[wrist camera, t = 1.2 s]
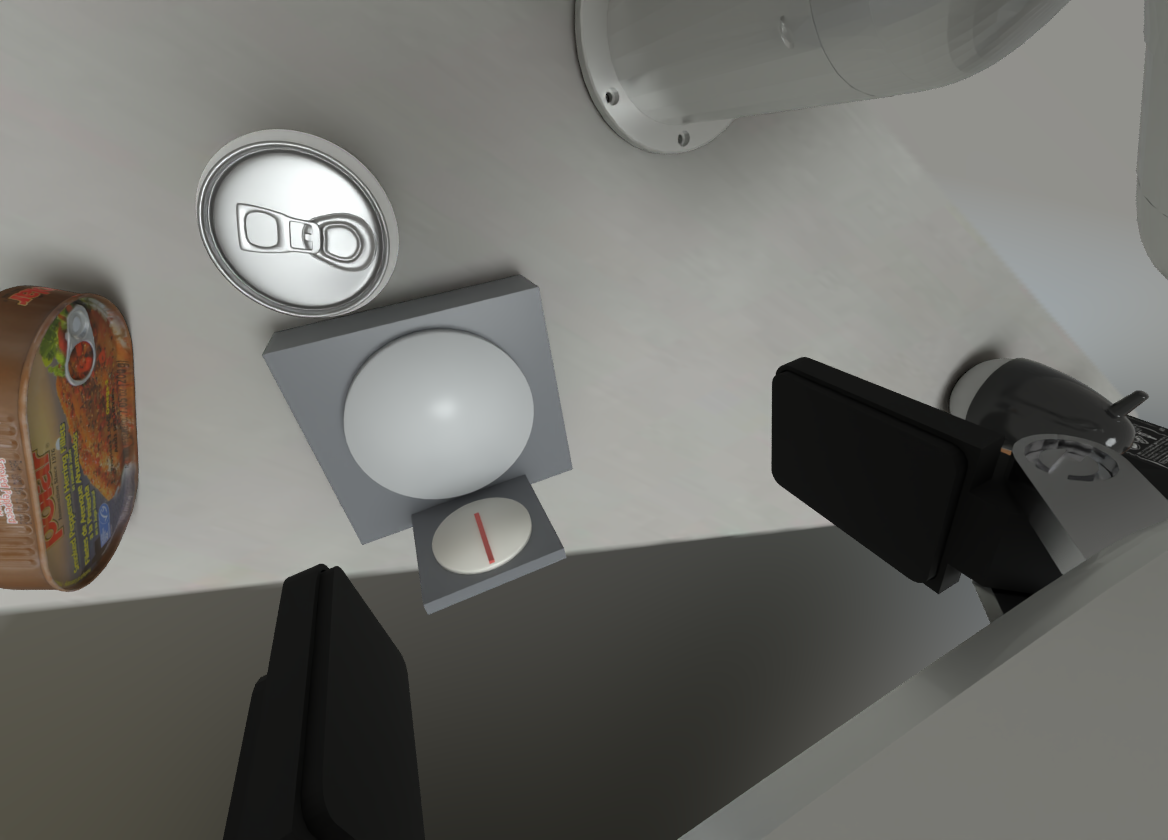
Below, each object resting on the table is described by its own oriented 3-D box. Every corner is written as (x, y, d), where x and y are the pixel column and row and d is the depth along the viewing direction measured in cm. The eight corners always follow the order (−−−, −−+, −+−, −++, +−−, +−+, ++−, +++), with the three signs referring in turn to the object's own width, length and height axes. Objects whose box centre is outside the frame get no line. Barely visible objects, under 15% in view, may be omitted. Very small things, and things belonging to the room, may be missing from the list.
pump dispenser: (1010, 342, 57) (1189, 390, 45) (975, 418, 62) (1128, 481, 50) (956, 350, 54) (1133, 404, 41) (923, 430, 59) (1073, 501, 46)
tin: (141, 522, 29) (72, 631, 22) (70, 522, 28) (-27, 638, 21) (131, 279, 24) (38, 323, 17) (44, 263, 23) (-96, 304, 16)
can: (387, 278, 28) (399, 337, 19) (258, 262, 26) (193, 321, 16) (390, 158, 26) (406, 153, 16) (248, 126, 23) (163, 96, 13)
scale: (274, 332, 27) (224, 424, 18) (520, 274, 31) (591, 322, 22) (362, 509, 34) (361, 644, 25) (554, 443, 38) (620, 538, 29)
